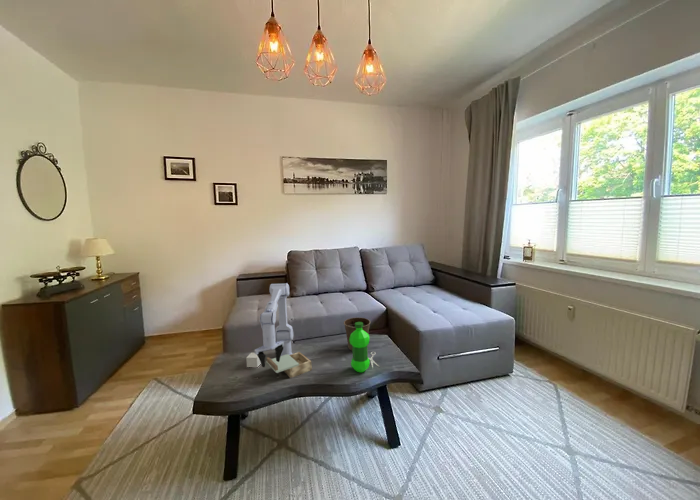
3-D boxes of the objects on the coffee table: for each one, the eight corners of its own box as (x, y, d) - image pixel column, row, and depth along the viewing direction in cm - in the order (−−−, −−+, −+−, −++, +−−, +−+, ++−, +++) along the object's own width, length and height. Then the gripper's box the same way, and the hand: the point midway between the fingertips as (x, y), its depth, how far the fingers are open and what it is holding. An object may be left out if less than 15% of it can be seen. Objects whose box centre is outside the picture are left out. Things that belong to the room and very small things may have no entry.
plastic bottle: (355, 363, 157) (353, 318, 154) (373, 367, 152) (372, 321, 149) (347, 372, 148) (345, 325, 145) (366, 376, 143) (364, 328, 140)
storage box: (290, 378, 144) (289, 368, 144) (279, 367, 156) (279, 358, 155) (311, 370, 151) (311, 361, 151) (300, 360, 163) (299, 351, 162)
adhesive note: (262, 362, 161) (261, 352, 161) (257, 368, 156) (257, 357, 155) (251, 362, 162) (251, 352, 161) (247, 368, 156) (246, 357, 156)
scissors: (373, 350, 171) (386, 366, 152) (373, 351, 171) (386, 367, 152) (356, 352, 169) (367, 369, 149) (356, 354, 169) (367, 370, 149)
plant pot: (368, 354, 167) (367, 327, 165) (341, 352, 170) (340, 326, 169) (373, 342, 182) (372, 317, 181) (348, 341, 186) (347, 316, 184)
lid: (276, 373, 140) (276, 367, 139) (266, 362, 151) (266, 357, 151) (299, 365, 147) (298, 359, 146) (287, 355, 158) (287, 350, 158)
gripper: (258, 343, 131) (260, 372, 132) (286, 334, 141) (288, 361, 142) (251, 339, 136) (253, 366, 138) (279, 331, 146) (281, 356, 147)
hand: (270, 363), depth 140 cm, fingers open, 7 cm apart
